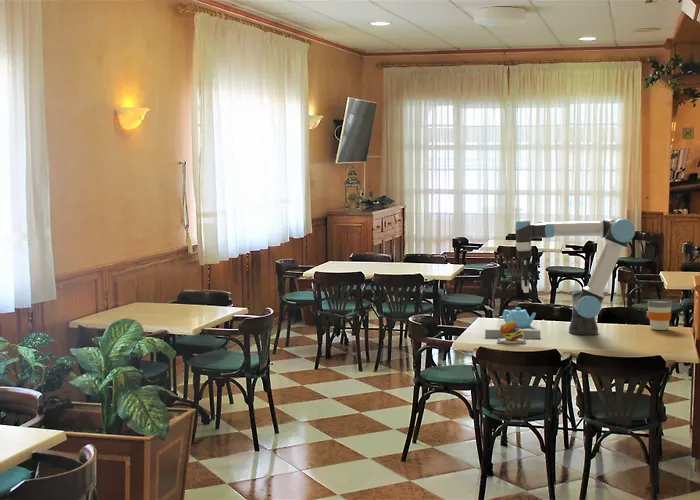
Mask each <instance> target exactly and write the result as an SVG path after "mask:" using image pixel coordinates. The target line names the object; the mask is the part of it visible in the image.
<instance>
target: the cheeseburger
mask: <svg viewBox="0 0 700 500" xmlns="http://www.w3.org/2000/svg"><path fill="white" fill-rule="evenodd" d="M516 325H517V323H516V322H513V321H510V322H509V323H506V322H505V323H504V324H502V325H501V326H499V330H500V333H501V334H503V336H504V337H505V339H506V340H509V341H513V340H517V339H520V338H522V337H524V334H523V331H522V330H523V329H522V328H516Z"/></svg>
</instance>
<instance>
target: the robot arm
mask: <svg viewBox="0 0 700 500" xmlns="http://www.w3.org/2000/svg"><path fill="white" fill-rule="evenodd" d="M635 235H636V228H635V224H634V223H633V222H632V221H631V220H630V219H627V218H624V217H612V218H607V219H605V218H604V219H600V220H599V221H562V222H561V221H551V222H550V221H549V222H544V221H539V222H536V223H531V221H530V220H528V219H526V220H517V221H516V222H515V241H516V243H515V244H514V247H516V258H517V259H520V262H519V263H520V271H521V272H520V275H521V289H522V290H523V294H524V293H525V294H526V293H530V288H529V285H530V284H529V283H530V282H529V261H528V260H527V259H530V258H532V239H546V238H547V239H550V238H554V237H600V238H602V239H603V238H604V241H605V244H604V247H603V249H602V252H601V253H600V256H599V257H598V260H597V262H596V265H595V267H594V269H593V272H592V274H591V275H590V278H589V281H588V283H587V285H586V286H583V287H582V288H581V289H574V290H572V294H571V299H572V301H571V302H572V303H571V307H572V308H571V309H572V313H571V315H572V316H571V321H570V324H569V327H568V333H569V334H573V335H579V336H580V335H582V336H590V335H591V336H592V335H598V334H599V326H598V324H597V321H596V317H597V316H598V314H599V313H600V312H601V308H602V303H603V301H604V298H605V295H604V291H605V288H606V287H607V285H608V282H609V280H610V277H611V275H612V273H613V271H614V269H615V266H616V264H617V263H618V260H619V257H620V256H621V254H622V252H623V250H625V249H627V248H628V245H629V243H630V241H631V240H633V238H634V236H635Z"/></svg>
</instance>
